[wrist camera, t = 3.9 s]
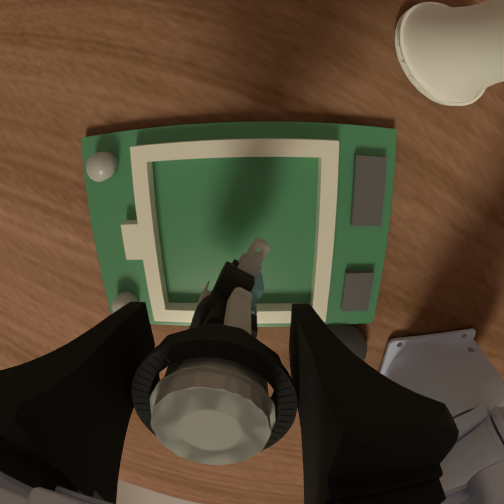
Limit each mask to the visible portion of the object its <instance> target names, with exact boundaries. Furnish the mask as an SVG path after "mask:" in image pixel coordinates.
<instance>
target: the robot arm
mask: <svg viewBox="0 0 504 504" xmlns="http://www.w3.org/2000/svg"><path fill="white" fill-rule="evenodd" d="M475 334H476V331H475V330H474V329H473V328H471V329H464V330H458V331H451V332H443V333H436V334H428V335H419V336H410V337H401V338H393V339H391V340H390V341H389V342H388V344H387V348H386V351H385V355H384V358H383V361H382V365H381V368H380V371H379V372H378V371H376V370H375V369H374V368H372V367H371V366H369V365H368V364H367V363H365V362H364V361H363V360H362V359H360V358H359V357H358V356H356V355H355V354H354V353H353V352H352V351H351V350H350V349H349V348H348V347H347V346H346V345H345V344H343V342H342V341H341V340H340V339H339V338H338V337H337V336H336V335H335V334H334V333H333V332H332V331H331V330H330V328H329V327H328V326H327V325H326V324H325V323H324V321H323V320H322V319H321V318H320V316H319V315H318V314H317V313H316V311H315V310H314V309H313V307H312V306H311V305H310V304H309V303H298V304H292V308H291V325H290V341H289V355H290V370H291V376H292V381H293V383H294V386H295V390H296V395H297V408H298V413H299V418H300V425H301V435H302V451H303V471H304V504H504V382H503V380H502V378H501V376H500V375H499V373H498V372H497V370H496V369H495V368H494V366H493V365H492V363H491V362H490V361H489V359H488V358H487V357H486V355H485V354H484V352H483V351H482V350H481V348H480V347H479V346H478V345H477V343H476V342H475V341H474V336H475ZM398 343H399V344H398ZM154 347H155V343H154V338H153V334H152V330H151V325H150V321H149V316H148V311H147V307H146V302H133V301H131V302H129V303H127V304H126V305H124V306H123V307H121V308H120V309H118V310H117V311H115V312H114V313H113V314H111V315H110V316H108V317H107V318H106V319H104V320H103V321H101V322H100V323H99V324H97V325H96V326H94V327H93V328H91V329H90V330H88V331H87V332H85V333H84V334H82V335H81V336H79V337H78V338H76V339H74V340H73V341H71V342H69V343H68V344H66V345H64V346H62V347H60V348H58V349H56V350H55V351H53V352H51V353H48V354H46V355H44V356H41V357H39V358H37V359H34V360H32V361H29V362H27V363H24V364H21V365H18V366H15V367H11V368H8V369H4V370H0V504H116V495H117V483H118V475H119V468H120V461H121V456H122V450H123V445H124V440H125V436H126V431H127V427H128V423H129V419H130V416H131V413H132V410H133V408H134V404H133V401H132V394H131V387H132V381H133V378H134V375H135V373H136V371H137V369H138V367H139V365H140V363H141V362H142V360H143V359H144V357H145V356H146V355H147V354H148V353H149V352H150V351H152V350H153V349H154Z"/></svg>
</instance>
